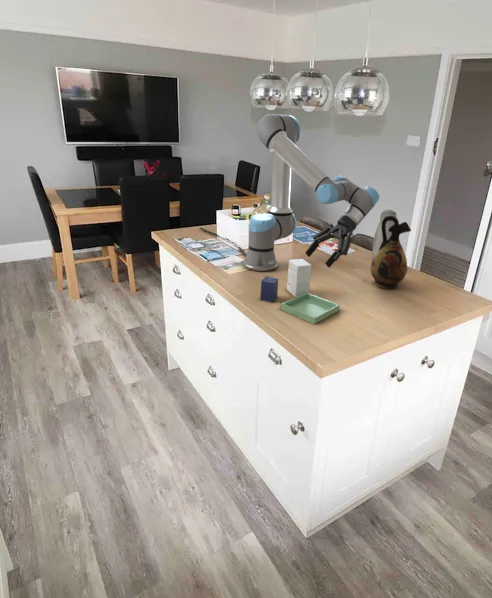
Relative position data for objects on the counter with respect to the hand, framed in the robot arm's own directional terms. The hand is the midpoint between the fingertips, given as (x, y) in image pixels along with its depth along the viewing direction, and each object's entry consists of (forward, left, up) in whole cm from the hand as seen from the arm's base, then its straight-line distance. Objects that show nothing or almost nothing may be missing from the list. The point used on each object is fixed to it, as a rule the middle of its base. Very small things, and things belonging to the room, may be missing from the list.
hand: (316, 260), depth 167 cm
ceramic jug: (+18, +28, -13) cm, 36 cm away
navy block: (-6, -21, -13) cm, 25 cm away
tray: (+11, -17, -13) cm, 24 cm away
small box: (-2, -8, -13) cm, 15 cm away
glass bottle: (+6, +47, -13) cm, 50 cm away
